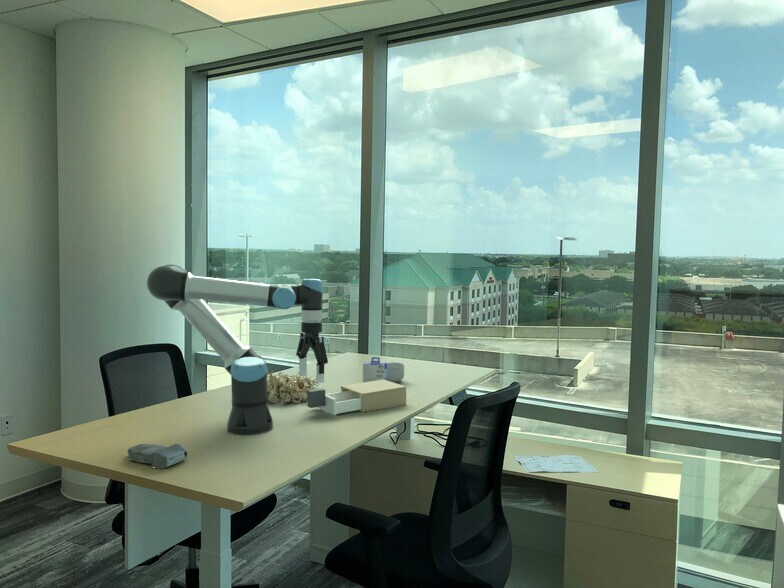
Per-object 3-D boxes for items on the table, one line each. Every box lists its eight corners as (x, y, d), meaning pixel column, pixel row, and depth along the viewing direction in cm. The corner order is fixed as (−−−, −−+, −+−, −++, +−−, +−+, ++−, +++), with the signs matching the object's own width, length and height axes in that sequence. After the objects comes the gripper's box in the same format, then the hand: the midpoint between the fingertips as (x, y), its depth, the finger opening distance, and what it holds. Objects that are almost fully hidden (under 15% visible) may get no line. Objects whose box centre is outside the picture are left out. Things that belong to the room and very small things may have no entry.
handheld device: (141, 451, 184) (141, 436, 184) (191, 461, 176) (191, 445, 175) (114, 461, 176) (114, 445, 175) (165, 472, 167) (165, 455, 167)
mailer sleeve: (362, 412, 226) (362, 393, 226) (341, 403, 239) (341, 385, 239) (406, 404, 238) (406, 386, 237) (383, 396, 251) (383, 379, 250)
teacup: (409, 382, 277) (409, 365, 276) (389, 385, 271) (389, 367, 270) (391, 377, 288) (391, 360, 288) (372, 380, 282) (372, 362, 282)
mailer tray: (319, 417, 216) (319, 395, 215) (299, 408, 229) (299, 387, 228) (380, 406, 231) (380, 385, 230) (358, 398, 244) (358, 378, 243)
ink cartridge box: (388, 390, 261) (387, 357, 260) (385, 393, 255) (385, 359, 254) (365, 389, 263) (365, 356, 262) (362, 392, 257) (362, 358, 256)
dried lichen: (300, 408, 233) (299, 379, 232) (231, 403, 242) (231, 375, 241) (328, 393, 258) (327, 366, 257) (265, 388, 267) (264, 363, 266)
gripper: (337, 324, 213) (337, 384, 214) (305, 317, 233) (305, 372, 235) (318, 325, 208) (318, 386, 210) (287, 318, 229) (287, 374, 230)
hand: (311, 379), depth 222 cm, fingers open, 13 cm apart
